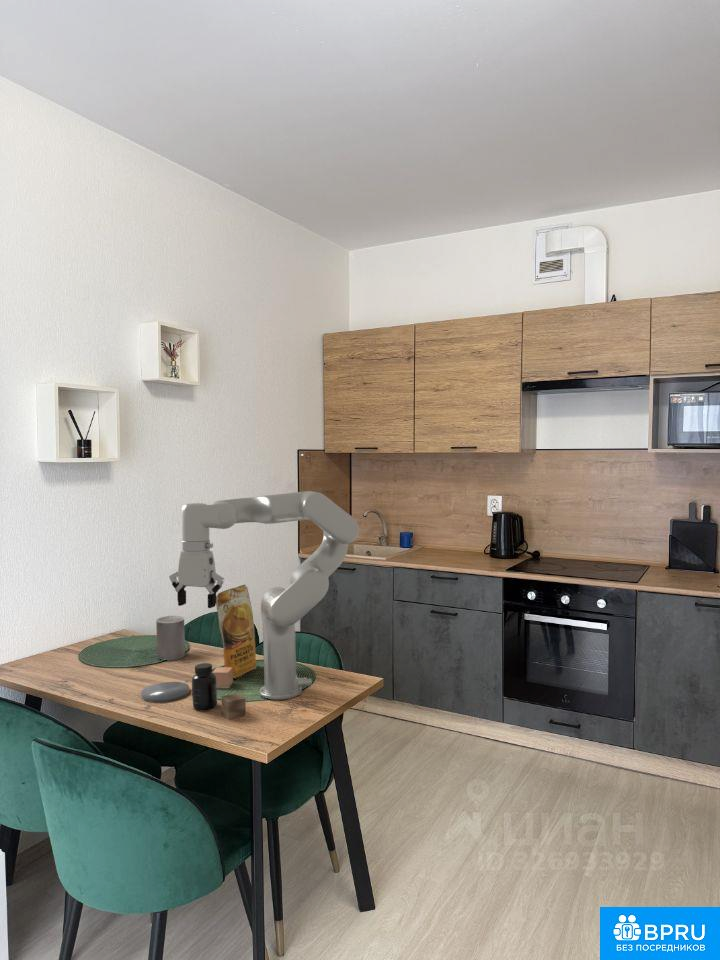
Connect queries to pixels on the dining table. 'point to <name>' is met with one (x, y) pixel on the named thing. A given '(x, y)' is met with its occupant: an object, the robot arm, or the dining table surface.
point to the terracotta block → (223, 676)
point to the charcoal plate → (165, 691)
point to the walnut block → (233, 706)
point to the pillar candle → (170, 638)
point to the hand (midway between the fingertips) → (196, 606)
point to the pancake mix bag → (237, 629)
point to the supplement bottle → (204, 688)
